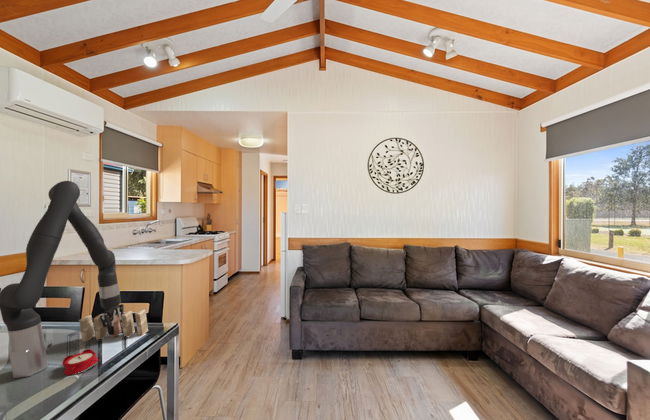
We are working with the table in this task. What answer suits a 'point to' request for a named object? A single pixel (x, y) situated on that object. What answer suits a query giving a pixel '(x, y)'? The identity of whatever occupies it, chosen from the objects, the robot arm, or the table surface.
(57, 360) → the table surface
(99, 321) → the domino
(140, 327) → the domino
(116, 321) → the gap domino
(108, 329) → the robot arm
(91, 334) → the domino
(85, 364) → the alarm clock
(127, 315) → the domino
